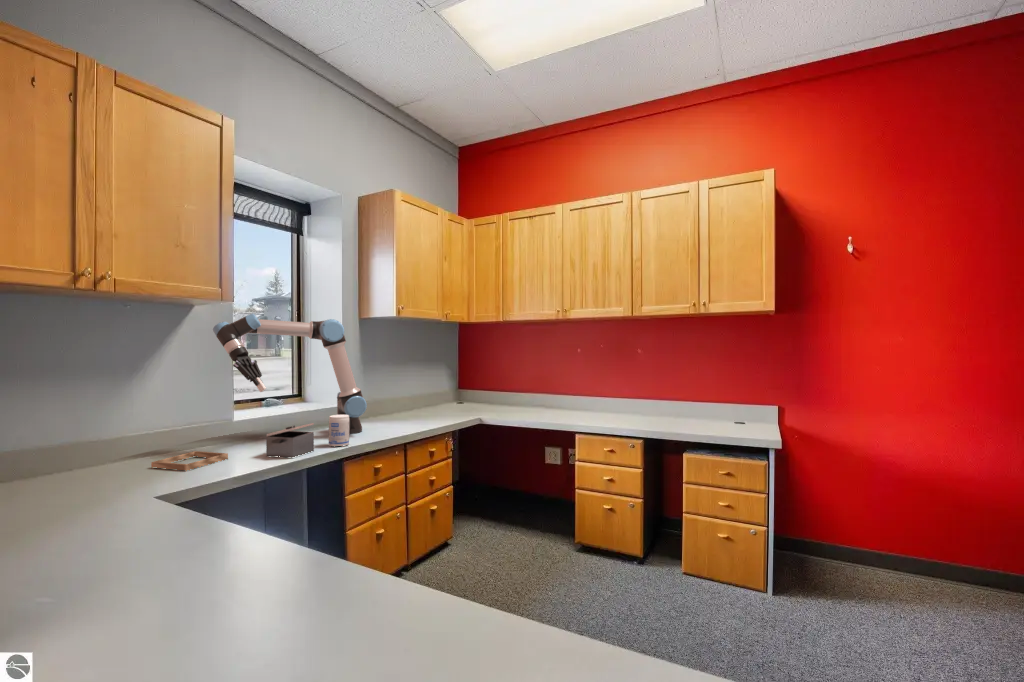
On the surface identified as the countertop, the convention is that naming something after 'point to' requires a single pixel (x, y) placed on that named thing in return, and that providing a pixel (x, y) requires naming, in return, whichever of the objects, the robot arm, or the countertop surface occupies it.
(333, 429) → the supplement tub
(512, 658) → the countertop surface
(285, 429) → the lid
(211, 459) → the corral
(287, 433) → the dark grey storage box
